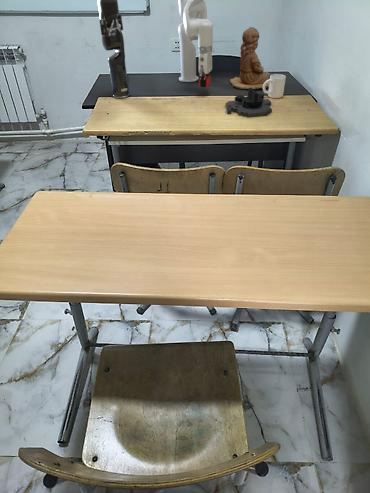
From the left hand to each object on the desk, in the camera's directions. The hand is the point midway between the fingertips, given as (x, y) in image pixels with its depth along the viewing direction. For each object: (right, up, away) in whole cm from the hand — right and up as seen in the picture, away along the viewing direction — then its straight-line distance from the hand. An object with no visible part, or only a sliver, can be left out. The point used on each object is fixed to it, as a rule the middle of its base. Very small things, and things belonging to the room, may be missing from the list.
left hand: (114, 44), depth 160 cm
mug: (+80, -7, +39) cm, 89 cm away
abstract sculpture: (+65, -20, +24) cm, 72 cm away
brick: (+43, 0, +41) cm, 59 cm away
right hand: (+43, 0, +41) cm, 59 cm away
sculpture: (+71, +9, +58) cm, 92 cm away
